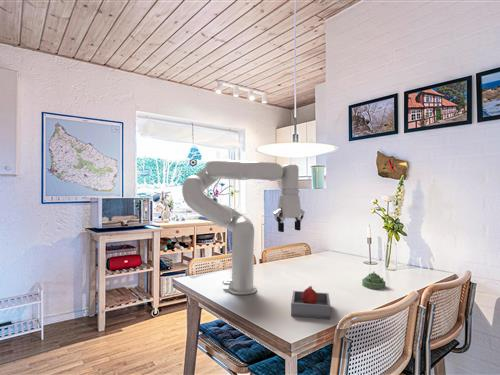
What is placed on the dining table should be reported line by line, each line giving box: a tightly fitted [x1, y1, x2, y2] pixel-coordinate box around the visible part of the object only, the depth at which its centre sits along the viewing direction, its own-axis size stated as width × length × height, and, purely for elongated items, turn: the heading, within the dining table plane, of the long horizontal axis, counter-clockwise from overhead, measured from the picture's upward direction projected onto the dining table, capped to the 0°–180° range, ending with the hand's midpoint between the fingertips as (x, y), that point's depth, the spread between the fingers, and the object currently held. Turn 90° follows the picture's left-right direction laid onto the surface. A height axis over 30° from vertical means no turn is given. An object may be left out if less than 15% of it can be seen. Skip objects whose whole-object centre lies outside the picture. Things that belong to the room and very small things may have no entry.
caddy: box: [290, 290, 332, 320], centre depth 116 cm, size 14×14×4 cm
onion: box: [302, 285, 318, 304], centre depth 116 cm, size 6×6×8 cm
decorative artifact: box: [362, 271, 386, 291], centre depth 145 cm, size 10×7×10 cm
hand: (289, 230), depth 139 cm, fingers open, 9 cm apart
